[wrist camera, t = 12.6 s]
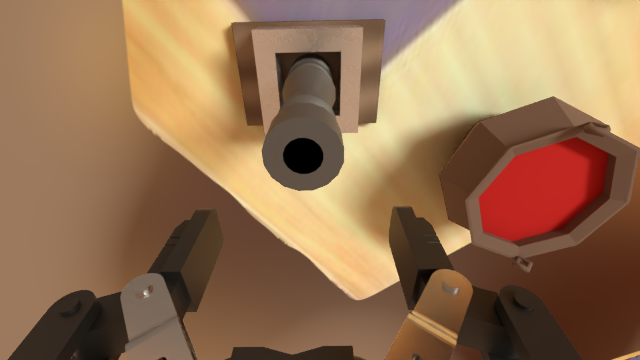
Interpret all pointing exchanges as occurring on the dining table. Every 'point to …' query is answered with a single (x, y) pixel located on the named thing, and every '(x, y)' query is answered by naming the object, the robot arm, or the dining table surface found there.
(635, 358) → the signage
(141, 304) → the robot arm
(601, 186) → the brown cauldron
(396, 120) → the dining table surface
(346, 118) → the square collar
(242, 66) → the socket board
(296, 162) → the candle holder
